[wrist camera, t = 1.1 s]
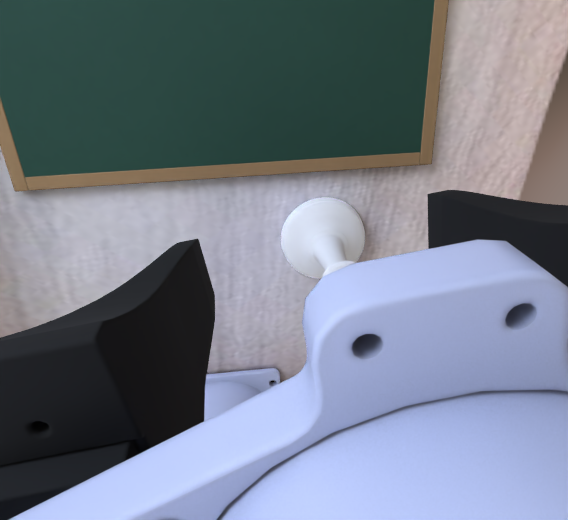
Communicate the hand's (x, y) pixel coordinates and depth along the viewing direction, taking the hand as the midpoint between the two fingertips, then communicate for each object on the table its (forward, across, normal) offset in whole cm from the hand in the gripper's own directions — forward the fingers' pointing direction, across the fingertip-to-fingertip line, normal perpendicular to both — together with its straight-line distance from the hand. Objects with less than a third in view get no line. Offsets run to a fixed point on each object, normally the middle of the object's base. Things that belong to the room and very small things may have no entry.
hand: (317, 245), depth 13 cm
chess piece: (+11, -1, +5) cm, 12 cm away
